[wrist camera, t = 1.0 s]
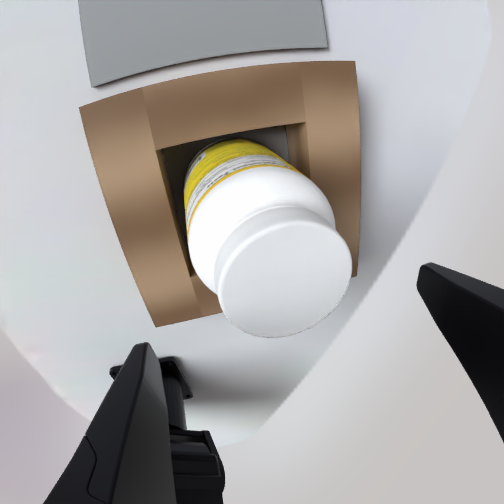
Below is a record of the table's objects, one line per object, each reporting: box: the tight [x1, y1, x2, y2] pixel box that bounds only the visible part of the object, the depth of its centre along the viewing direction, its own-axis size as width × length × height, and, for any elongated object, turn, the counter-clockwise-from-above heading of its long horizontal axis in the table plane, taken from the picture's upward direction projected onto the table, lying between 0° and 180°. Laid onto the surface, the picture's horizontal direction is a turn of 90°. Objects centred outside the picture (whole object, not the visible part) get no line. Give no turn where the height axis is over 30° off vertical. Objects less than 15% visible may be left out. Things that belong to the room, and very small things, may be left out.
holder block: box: [79, 61, 361, 327], centre depth 18 cm, size 14×14×4 cm
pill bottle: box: [184, 137, 352, 338], centre depth 15 cm, size 6×6×11 cm
